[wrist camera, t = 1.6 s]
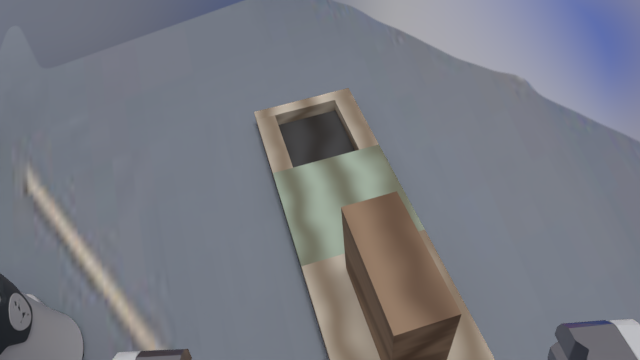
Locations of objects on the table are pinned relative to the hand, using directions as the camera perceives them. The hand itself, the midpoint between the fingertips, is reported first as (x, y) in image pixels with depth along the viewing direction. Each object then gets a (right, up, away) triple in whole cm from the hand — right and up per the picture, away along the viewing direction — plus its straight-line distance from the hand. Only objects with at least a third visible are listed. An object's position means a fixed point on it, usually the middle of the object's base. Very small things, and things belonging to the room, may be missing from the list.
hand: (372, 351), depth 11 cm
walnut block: (+7, -11, +42) cm, 44 cm away
